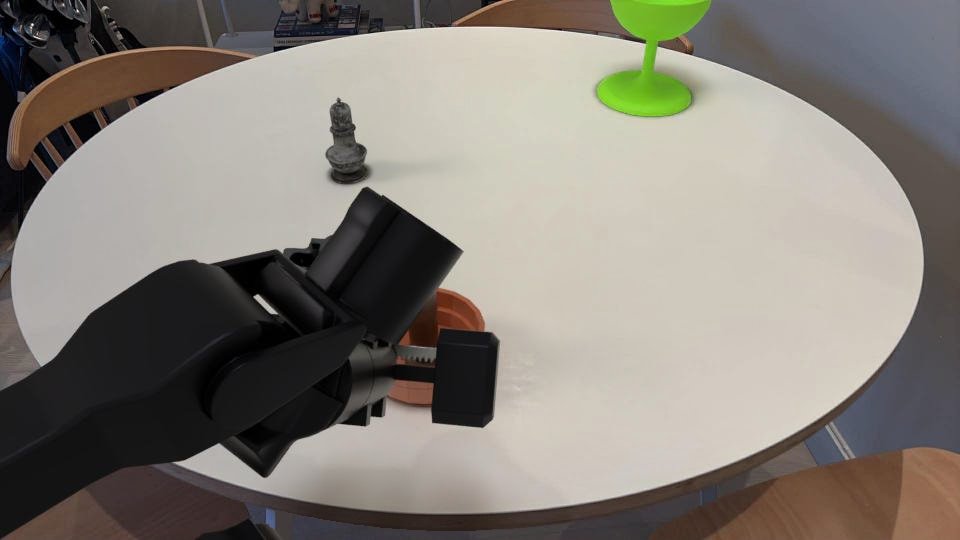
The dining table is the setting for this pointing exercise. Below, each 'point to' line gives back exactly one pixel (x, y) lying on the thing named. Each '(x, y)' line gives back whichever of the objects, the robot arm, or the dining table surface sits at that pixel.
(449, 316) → the bowl
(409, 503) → the dining table surface
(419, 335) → the brown cylinder
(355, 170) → the grey chess piece
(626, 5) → the wineglass
